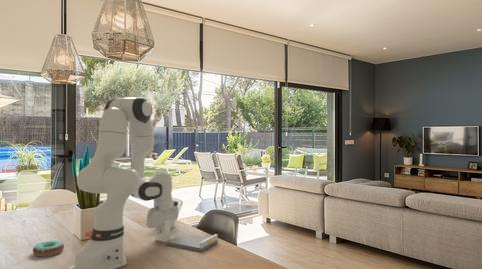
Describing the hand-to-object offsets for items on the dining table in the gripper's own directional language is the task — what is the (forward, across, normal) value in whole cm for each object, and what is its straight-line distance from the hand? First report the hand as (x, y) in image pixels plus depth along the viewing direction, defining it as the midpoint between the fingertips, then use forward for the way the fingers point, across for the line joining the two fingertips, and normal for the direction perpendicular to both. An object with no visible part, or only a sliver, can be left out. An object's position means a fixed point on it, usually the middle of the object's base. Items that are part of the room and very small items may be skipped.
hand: (162, 232), depth 167 cm
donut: (+4, -37, +33) cm, 50 cm away
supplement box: (+4, +18, +12) cm, 22 cm away
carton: (+4, 0, 0) cm, 4 cm away
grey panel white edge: (+4, +2, -16) cm, 17 cm away
